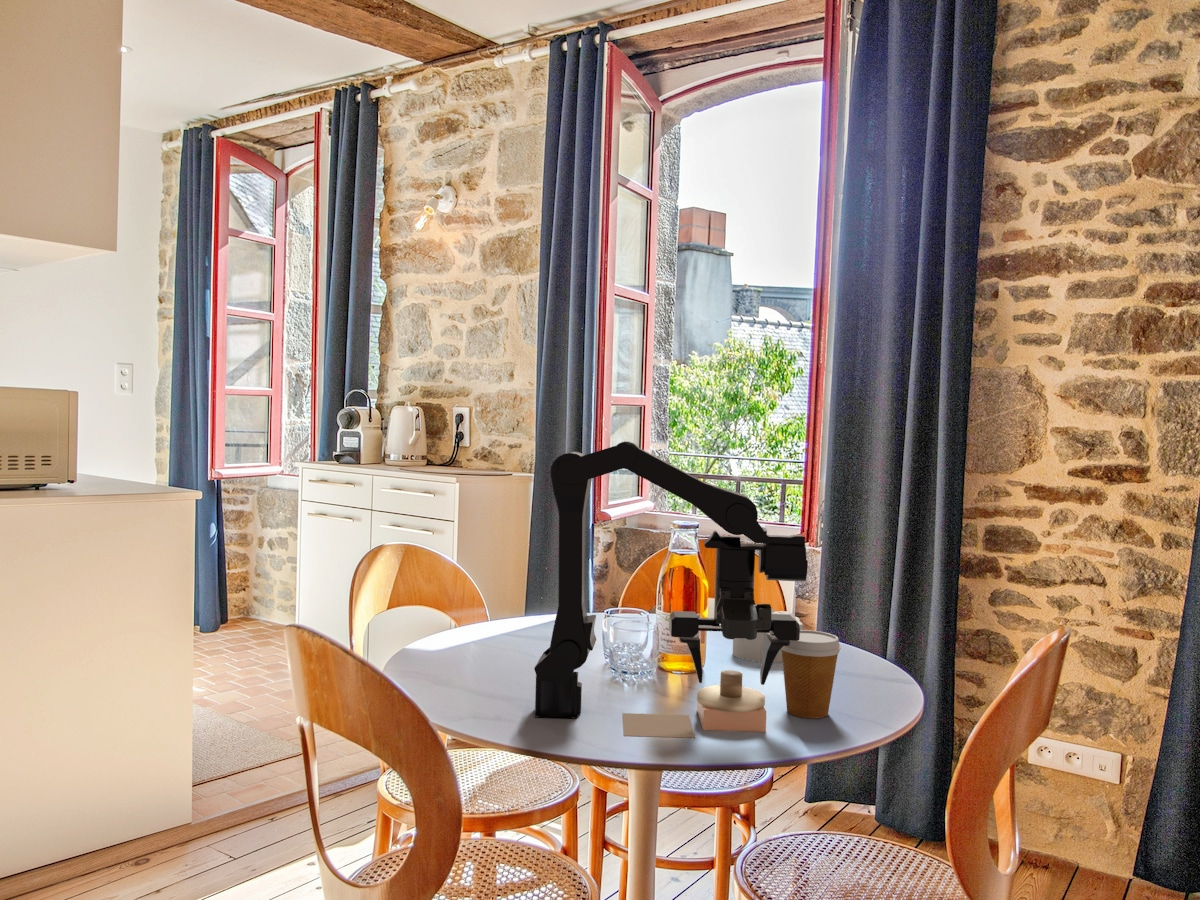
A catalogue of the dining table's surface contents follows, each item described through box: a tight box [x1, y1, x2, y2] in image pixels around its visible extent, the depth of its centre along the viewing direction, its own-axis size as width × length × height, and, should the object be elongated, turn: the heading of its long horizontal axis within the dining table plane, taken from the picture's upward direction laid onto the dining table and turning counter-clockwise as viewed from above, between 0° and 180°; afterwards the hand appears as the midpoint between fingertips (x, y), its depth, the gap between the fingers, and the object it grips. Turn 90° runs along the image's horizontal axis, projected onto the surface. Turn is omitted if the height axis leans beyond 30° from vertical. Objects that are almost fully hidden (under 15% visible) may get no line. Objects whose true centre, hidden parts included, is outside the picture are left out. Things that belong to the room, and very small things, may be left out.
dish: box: [696, 700, 767, 733], centre depth 138 cm, size 9×9×4 cm
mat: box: [622, 712, 696, 739], centre depth 135 cm, size 10×10×1 cm
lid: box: [696, 670, 766, 712], centre depth 137 cm, size 10×10×4 cm
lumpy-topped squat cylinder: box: [732, 608, 804, 664], centre depth 180 cm, size 10×13×9 cm
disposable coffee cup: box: [781, 629, 842, 719], centre depth 144 cm, size 10×10×12 cm
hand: (731, 683), depth 137 cm, fingers open, 9 cm apart
